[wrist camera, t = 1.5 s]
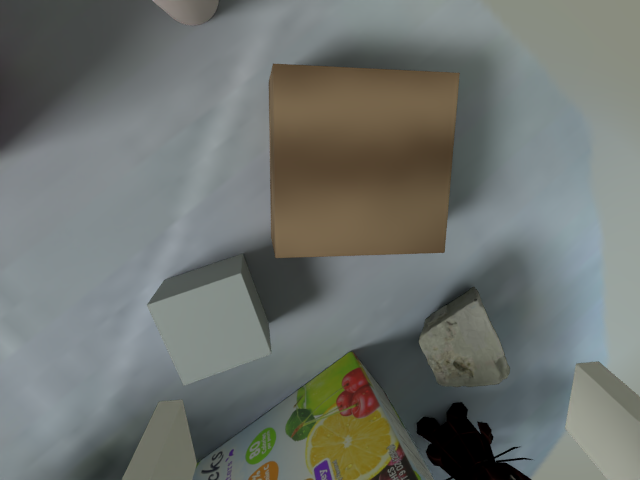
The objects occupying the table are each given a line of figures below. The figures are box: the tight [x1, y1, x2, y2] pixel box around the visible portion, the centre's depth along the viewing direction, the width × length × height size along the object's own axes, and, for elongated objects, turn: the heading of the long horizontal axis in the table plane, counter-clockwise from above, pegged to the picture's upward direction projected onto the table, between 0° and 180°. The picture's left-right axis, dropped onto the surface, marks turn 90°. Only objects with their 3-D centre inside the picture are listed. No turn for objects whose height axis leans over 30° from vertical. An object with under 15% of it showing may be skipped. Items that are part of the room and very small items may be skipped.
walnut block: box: [269, 64, 460, 258], centre depth 26 cm, size 11×11×6 cm
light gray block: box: [147, 254, 271, 386], centre depth 27 cm, size 6×6×5 cm
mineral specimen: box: [419, 287, 510, 387], centre depth 29 cm, size 7×9×8 cm
